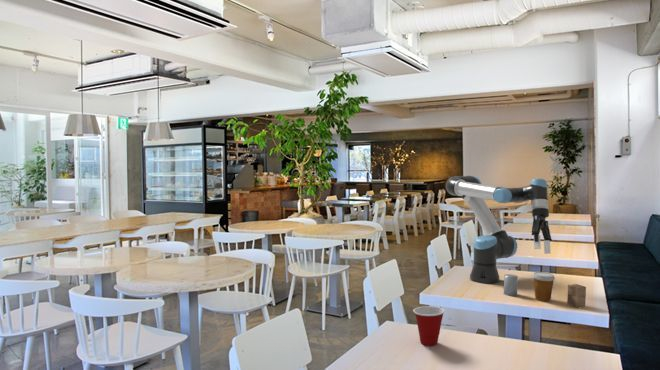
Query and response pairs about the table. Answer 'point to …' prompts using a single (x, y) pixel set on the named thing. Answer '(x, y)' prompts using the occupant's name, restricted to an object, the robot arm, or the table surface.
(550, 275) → the disposable coffee cup
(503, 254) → the robot arm
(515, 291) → the grey rounded cylinder
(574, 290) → the walnut block
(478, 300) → the table surface
